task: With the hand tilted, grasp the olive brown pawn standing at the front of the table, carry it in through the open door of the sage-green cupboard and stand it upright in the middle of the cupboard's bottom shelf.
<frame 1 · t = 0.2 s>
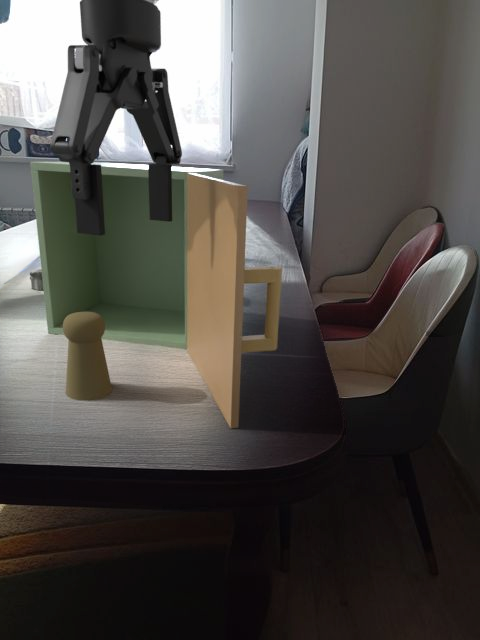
hand: (129, 226, 57), 23 cm above the table, tool pointing down, fingers open, 13 cm apart
olive brown pawn: (89, 392, 70), on the table
cabinet door: (229, 287, 70), point 14 cm above the table, hinge at 120.0°
cabinet: (139, 326, 96), on the table
beer can: (69, 266, 142), on the table
pastry: (194, 300, 116), on the table
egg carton: (55, 286, 121), on the table
supplement tub: (79, 252, 161), on the table
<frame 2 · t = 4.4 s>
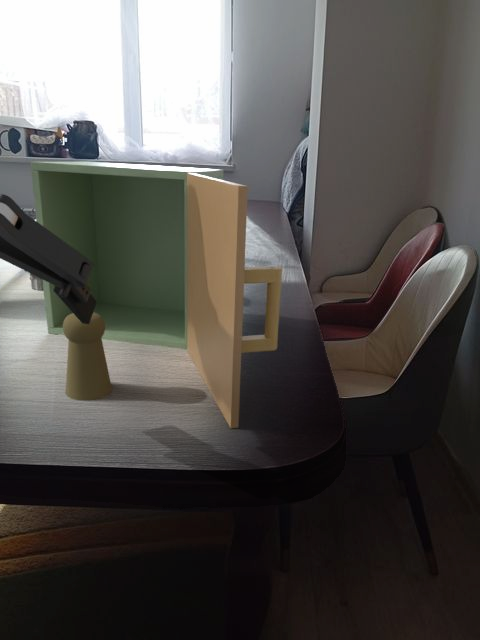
hand: (30, 306, 55), 15 cm above the table, tool tilted 45°, fingers open, 13 cm apart
nothing on the table moved.
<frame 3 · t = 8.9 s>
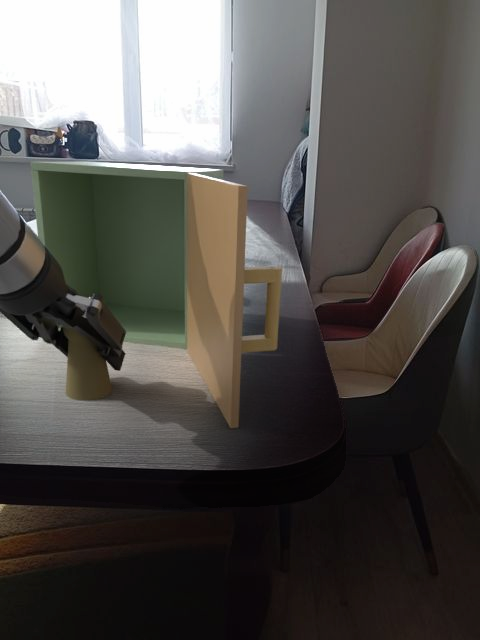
hand: (100, 359, 72), 3 cm above the table, tool tilted 45°, fingers closed on olive brown pawn, 5 cm apart
olive brown pawn: (89, 392, 70), on the table, touching gripper
everything else where it was.
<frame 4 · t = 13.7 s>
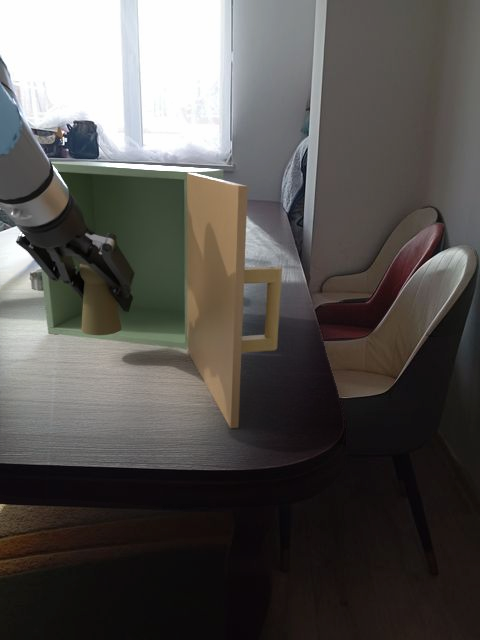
hand: (111, 302, 82), 8 cm above the table, tool tilted 45°, fingers closed on olive brown pawn, 5 cm apart
olive brown pawn: (101, 330, 80), point 4 cm above the table, touching gripper
everything else where it was.
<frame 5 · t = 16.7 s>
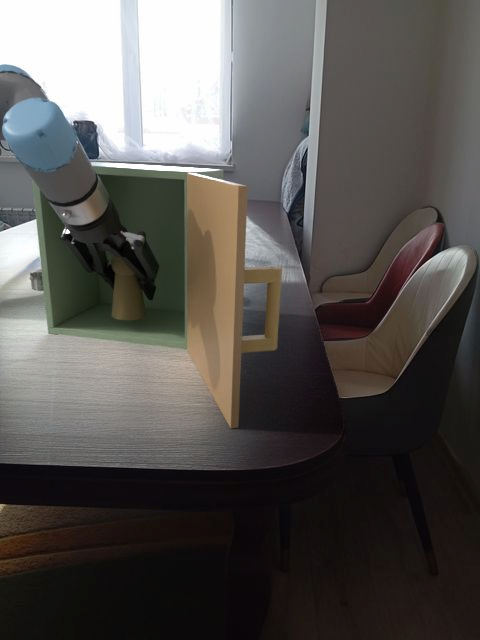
hand: (137, 292, 94), 7 cm above the table, tool tilted 45°, fingers closed on olive brown pawn, 5 cm apart
olive brown pawn: (129, 316, 91), point 3 cm above the table, touching gripper
everything else where it was.
when the fingers open (4 cm above the table, at t = 18.8 s): olive brown pawn stays where it is, resting on cabinet.
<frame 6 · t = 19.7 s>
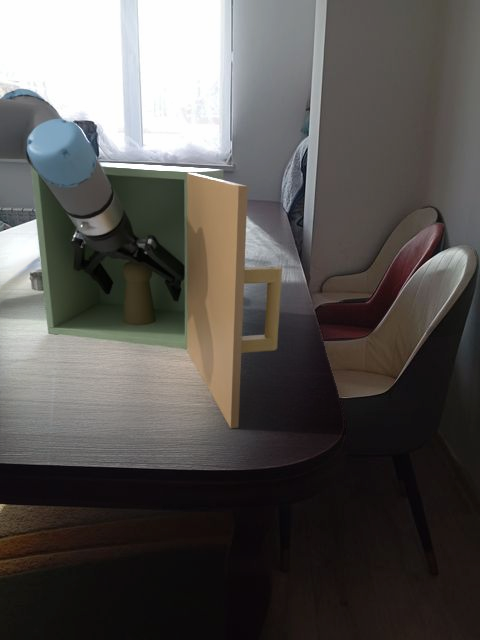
hand: (143, 291, 96), 6 cm above the table, tool tilted 45°, fingers open, 13 cm apart
olive brown pawn: (139, 321, 96), point 1 cm above the table, touching cabinet
everything else where it was.
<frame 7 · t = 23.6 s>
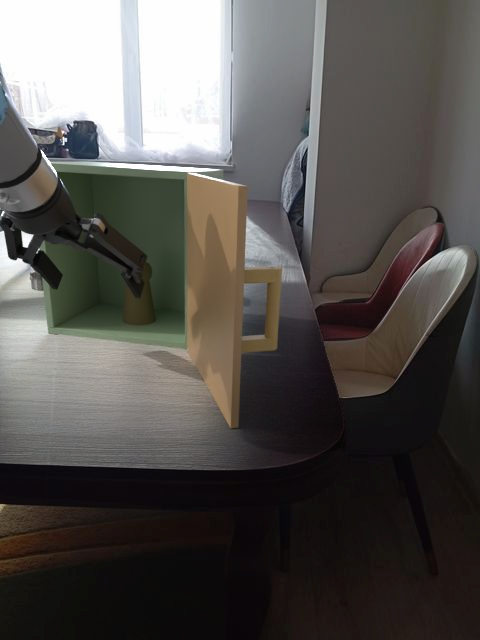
hand: (98, 286, 79), 11 cm above the table, tool tilted 45°, fingers open, 13 cm apart
nothing on the table moved.
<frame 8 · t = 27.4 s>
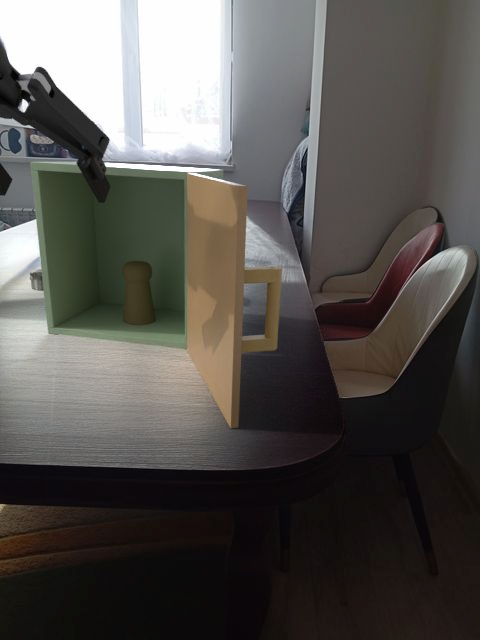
hand: (54, 191, 65), 26 cm above the table, tool tilted 45°, fingers open, 13 cm apart
nothing on the table moved.
at the end: olive brown pawn inside the target area in the cabinet (0.1 cm from its centre), point 1.0 cm above the cabinet's base; olive brown pawn tilted 0°; the gripper is holding nothing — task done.
